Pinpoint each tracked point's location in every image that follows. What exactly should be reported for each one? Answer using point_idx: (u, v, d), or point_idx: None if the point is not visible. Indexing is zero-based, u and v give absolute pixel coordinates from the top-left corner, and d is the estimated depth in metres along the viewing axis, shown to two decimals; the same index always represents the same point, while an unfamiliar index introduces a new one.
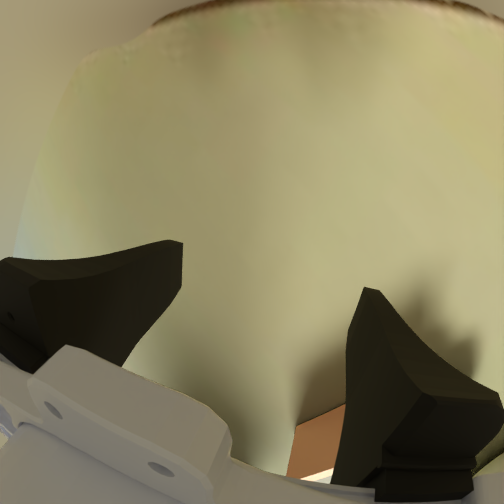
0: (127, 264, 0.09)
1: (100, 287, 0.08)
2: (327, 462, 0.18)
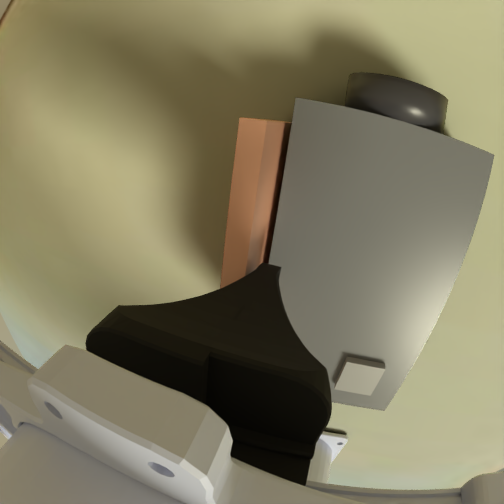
0: (254, 300, 0.08)
1: None
2: None
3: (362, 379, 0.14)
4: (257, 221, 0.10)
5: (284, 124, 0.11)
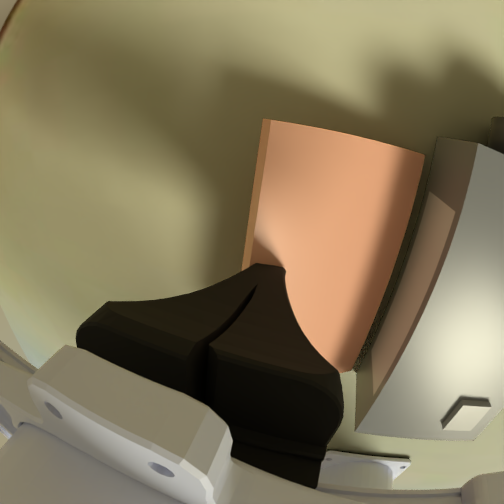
0: (244, 298, 0.08)
1: None
2: None
3: (469, 418, 0.11)
4: (277, 219, 0.11)
5: (352, 137, 0.10)
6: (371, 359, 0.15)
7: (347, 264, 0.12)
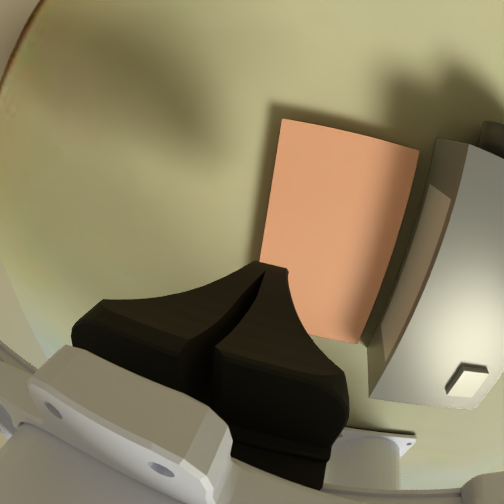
0: (239, 297, 0.08)
1: (222, 329, 0.07)
2: None
3: (470, 384, 0.13)
4: (286, 184, 0.15)
5: (343, 132, 0.14)
6: (381, 332, 0.17)
7: (345, 232, 0.16)
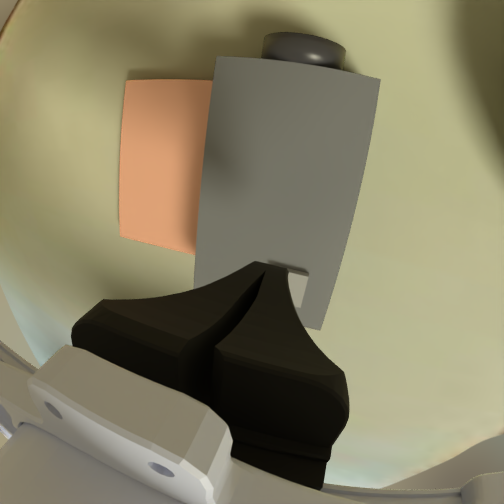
0: (239, 297, 0.08)
1: (222, 328, 0.07)
2: None
3: (289, 288, 0.17)
4: (130, 124, 0.19)
5: (162, 80, 0.18)
6: None
7: (170, 153, 0.20)
